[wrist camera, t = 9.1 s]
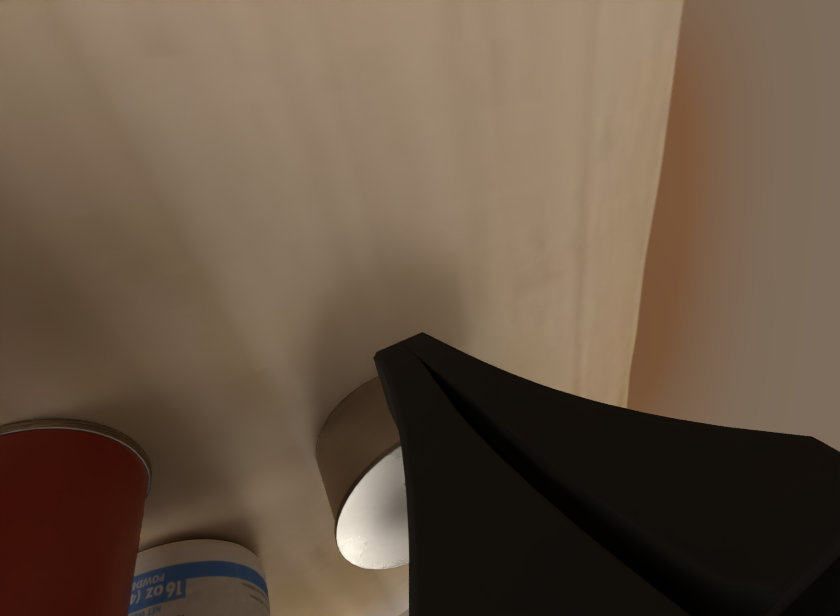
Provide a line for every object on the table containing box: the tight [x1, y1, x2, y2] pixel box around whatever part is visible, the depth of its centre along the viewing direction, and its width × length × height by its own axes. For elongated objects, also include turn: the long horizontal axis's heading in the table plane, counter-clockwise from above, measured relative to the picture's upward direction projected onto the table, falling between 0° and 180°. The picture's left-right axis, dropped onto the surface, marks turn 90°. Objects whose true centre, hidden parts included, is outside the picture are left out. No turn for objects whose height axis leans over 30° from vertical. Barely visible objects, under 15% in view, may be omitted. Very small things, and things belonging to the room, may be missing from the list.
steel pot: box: [317, 377, 409, 569], centre depth 21 cm, size 9×9×5 cm
